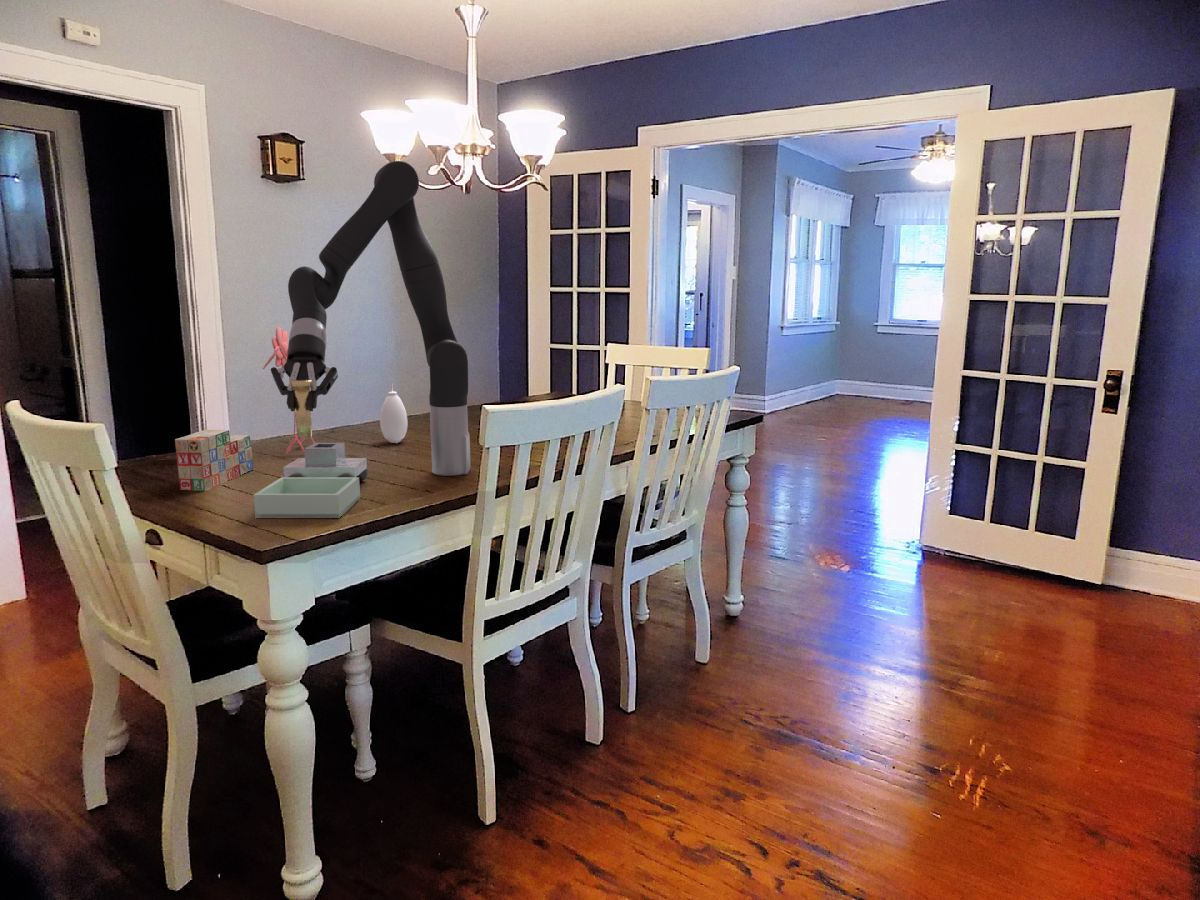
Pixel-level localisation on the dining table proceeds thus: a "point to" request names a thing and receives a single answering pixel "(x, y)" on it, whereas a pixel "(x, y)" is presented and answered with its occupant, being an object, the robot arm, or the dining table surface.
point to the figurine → (281, 358)
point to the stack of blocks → (211, 458)
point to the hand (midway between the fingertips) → (301, 408)
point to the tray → (307, 497)
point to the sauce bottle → (393, 418)
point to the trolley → (327, 463)
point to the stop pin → (302, 406)
